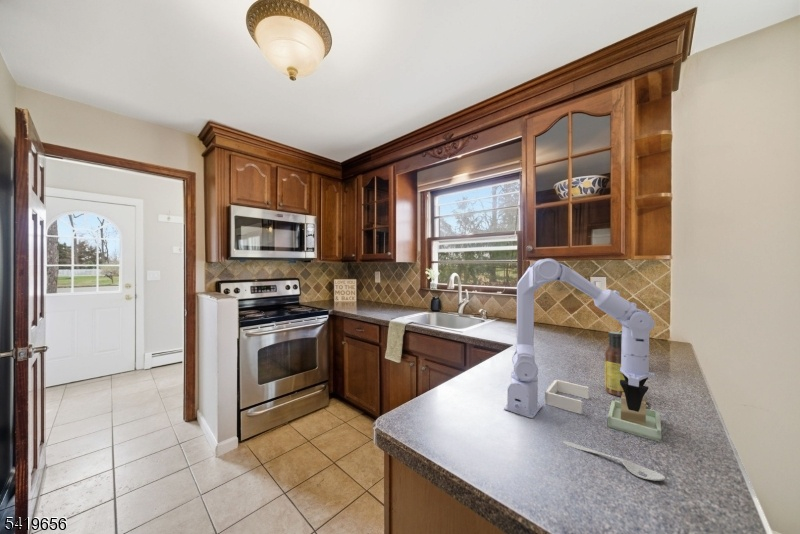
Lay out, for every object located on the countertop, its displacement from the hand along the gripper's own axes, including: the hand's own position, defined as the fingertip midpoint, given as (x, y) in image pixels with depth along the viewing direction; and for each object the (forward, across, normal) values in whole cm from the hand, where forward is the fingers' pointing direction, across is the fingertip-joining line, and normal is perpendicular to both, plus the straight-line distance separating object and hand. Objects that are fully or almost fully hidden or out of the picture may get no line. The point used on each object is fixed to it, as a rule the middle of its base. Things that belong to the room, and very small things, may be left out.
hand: (633, 404), depth 77 cm
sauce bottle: (+5, +20, +5) cm, 21 cm away
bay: (+5, +3, +16) cm, 17 cm away
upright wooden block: (+4, 0, 0) cm, 4 cm away
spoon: (+6, -22, +5) cm, 23 cm away
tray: (+5, 0, 0) cm, 5 cm away
